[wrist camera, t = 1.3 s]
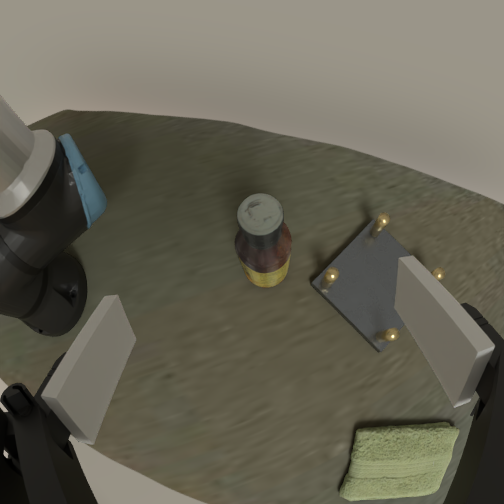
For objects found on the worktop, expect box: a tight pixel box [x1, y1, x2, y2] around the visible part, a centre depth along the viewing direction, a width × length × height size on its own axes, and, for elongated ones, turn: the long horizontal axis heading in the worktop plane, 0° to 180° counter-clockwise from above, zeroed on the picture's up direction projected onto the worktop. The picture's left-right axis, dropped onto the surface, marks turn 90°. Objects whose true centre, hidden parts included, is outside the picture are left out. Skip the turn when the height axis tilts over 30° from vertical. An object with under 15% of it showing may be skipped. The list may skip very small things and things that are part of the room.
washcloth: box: [339, 422, 459, 501], centre depth 33 cm, size 13×18×3 cm
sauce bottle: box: [235, 193, 292, 288], centre depth 36 cm, size 6×6×20 cm
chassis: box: [311, 213, 445, 352], centre depth 40 cm, size 14×14×6 cm
